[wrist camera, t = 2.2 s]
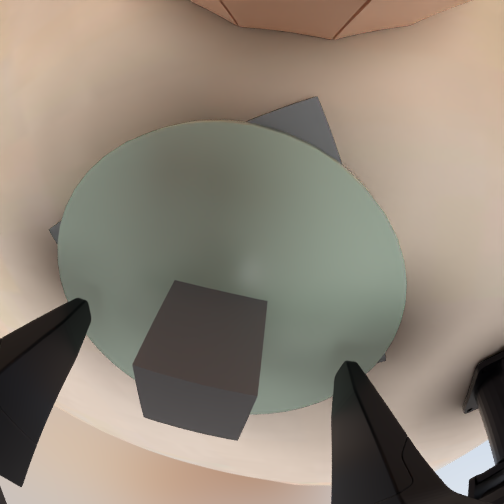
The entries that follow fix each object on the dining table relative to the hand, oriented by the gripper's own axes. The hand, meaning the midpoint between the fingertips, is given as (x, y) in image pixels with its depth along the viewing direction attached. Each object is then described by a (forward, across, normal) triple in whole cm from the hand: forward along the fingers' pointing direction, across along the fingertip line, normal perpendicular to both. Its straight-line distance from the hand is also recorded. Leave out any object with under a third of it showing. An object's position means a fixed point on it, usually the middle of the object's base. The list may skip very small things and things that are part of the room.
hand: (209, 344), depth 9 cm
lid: (+2, 0, 0) cm, 2 cm away
